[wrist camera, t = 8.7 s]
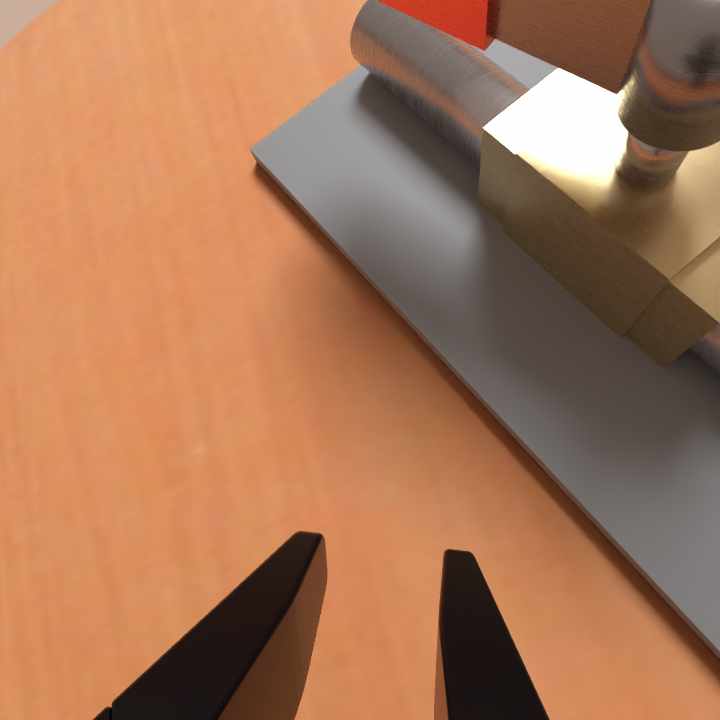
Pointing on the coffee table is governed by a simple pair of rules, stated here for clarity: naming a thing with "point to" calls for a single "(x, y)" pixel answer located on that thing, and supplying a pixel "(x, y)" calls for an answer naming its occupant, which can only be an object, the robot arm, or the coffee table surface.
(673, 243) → the valve body
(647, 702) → the coffee table surface
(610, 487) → the mounting board
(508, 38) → the valve lever
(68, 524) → the coffee table surface
